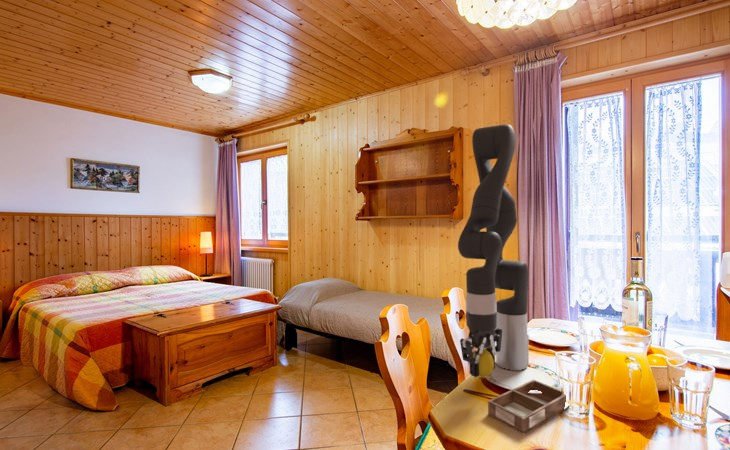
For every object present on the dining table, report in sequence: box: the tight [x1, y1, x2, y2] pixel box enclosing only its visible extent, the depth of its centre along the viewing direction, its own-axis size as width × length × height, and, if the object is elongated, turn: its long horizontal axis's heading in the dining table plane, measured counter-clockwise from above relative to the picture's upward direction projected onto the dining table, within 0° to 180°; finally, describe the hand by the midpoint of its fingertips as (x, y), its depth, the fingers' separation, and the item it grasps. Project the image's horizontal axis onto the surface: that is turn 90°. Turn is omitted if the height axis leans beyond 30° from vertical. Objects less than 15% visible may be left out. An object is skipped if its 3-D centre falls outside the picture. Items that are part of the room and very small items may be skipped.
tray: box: [487, 379, 566, 435], centre depth 94 cm, size 19×10×4 cm, turn 124°
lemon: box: [473, 348, 494, 379], centre depth 98 cm, size 6×6×8 cm
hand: (482, 372), depth 98 cm, fingers closed on lemon, 5 cm apart
